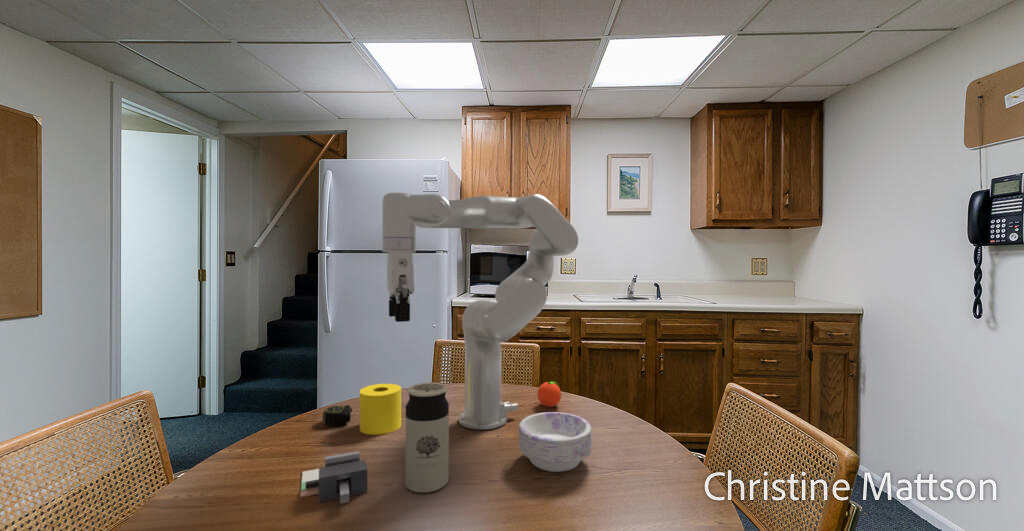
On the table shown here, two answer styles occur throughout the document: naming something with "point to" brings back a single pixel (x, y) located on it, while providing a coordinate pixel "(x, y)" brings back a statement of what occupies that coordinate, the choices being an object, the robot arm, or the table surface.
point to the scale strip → (309, 476)
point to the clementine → (549, 394)
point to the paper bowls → (555, 440)
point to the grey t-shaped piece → (342, 482)
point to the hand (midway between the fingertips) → (398, 318)
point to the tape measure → (337, 415)
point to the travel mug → (427, 437)
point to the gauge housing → (342, 471)
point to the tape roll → (380, 409)
